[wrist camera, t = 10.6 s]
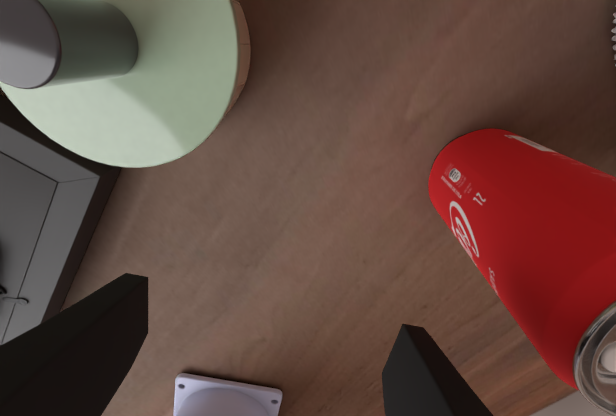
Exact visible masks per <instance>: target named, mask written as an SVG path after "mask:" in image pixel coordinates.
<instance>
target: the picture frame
mask: <svg viewBox="0 0 616 416" xmlns="http://www.w3.org/2000/svg"><path fill="white" fill-rule="evenodd" d="M120 169H121V167H119V166H112V165H108V164H104V163H100V162H96V161H93V160H91V159H88V158H85V157H83V156H80V155H78V154H76V153H74V152H72V151H70V150H68V149H66V148H65V147H63V146H61V145H60V144H58V143H57V142H55V141H54V140H52V139H50V138H49V137H48V136H47V135H45V134H44V133H43V132H41V131H40V130H39V129H38V128H36V127H35V126H34V125H33V124H32V123H31V122H30V121H29V120H28V119H27V118H26V117H25V116H24V115H23V114H22V113H21V112H20V111H19V110H18V109H17V108H16V106H15V105H14V104H13V103H12V102H11V101H10V100H9V99H7V98H5V97H4V96H2V95H0V346H1V345H3V344H4V343H6V342H8V341H10V340H12V339H14V338H15V337H17V336H19V335H21V334H23V333H25V332H26V331H28V330H30V329H32V328H34V327H36V326H38V325H39V324H41V323H43V322H45V321H46V320H48V319H50V318H52V317H53V316H55V315H57V314H58V313H59V311H60V309H61V306H62V304H63V302H64V299H65V297H66V295H67V292H68V290H69V288H70V285H71V283H72V281H73V278H74V276H75V274H76V271H77V269H78V267H79V264H80V262H81V260H82V258H83V255H84V253H85V251H86V248H87V246H88V244H89V241H90V239H91V237H92V234H93V232H94V230H95V227H96V225H97V223H98V220H99V218H100V216H101V213H102V211H103V209H104V206H105V204H106V202H107V199H108V197H109V195H110V192H111V190H112V188H113V185H114V183H115V181H116V179H117V176H118V174H119V172H120Z"/></svg>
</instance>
